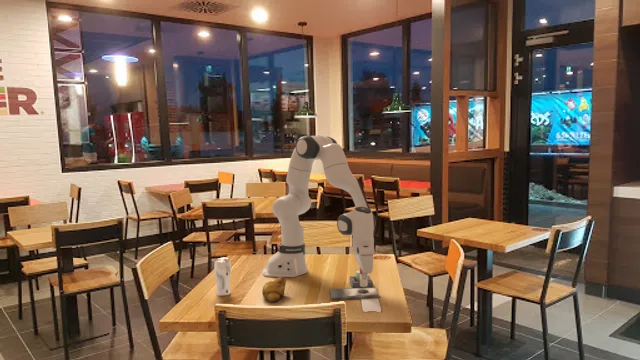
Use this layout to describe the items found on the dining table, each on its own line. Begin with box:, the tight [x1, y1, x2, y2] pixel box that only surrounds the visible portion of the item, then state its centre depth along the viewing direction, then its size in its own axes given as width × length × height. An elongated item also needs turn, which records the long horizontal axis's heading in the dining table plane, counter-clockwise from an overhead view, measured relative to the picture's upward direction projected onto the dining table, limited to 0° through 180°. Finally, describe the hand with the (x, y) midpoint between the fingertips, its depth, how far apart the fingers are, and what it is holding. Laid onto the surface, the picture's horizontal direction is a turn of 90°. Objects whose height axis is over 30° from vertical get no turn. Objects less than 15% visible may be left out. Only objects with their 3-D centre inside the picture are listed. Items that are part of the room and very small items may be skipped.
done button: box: [354, 269, 360, 282], centre depth 205 cm, size 5×5×4 cm
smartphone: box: [360, 298, 383, 313], centre depth 183 cm, size 8×1×16 cm
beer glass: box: [213, 257, 232, 297], centre depth 196 cm, size 7×7×15 cm
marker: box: [359, 267, 368, 287], centre depth 194 cm, size 3×3×8 cm
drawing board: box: [328, 286, 381, 301], centre depth 194 cm, size 20×11×1 cm, turn 95°
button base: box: [349, 275, 374, 288], centre depth 205 cm, size 9×9×3 cm
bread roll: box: [261, 277, 287, 303], centre depth 191 cm, size 13×10×8 cm
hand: (363, 277), depth 194 cm, fingers closed on marker, 3 cm apart
